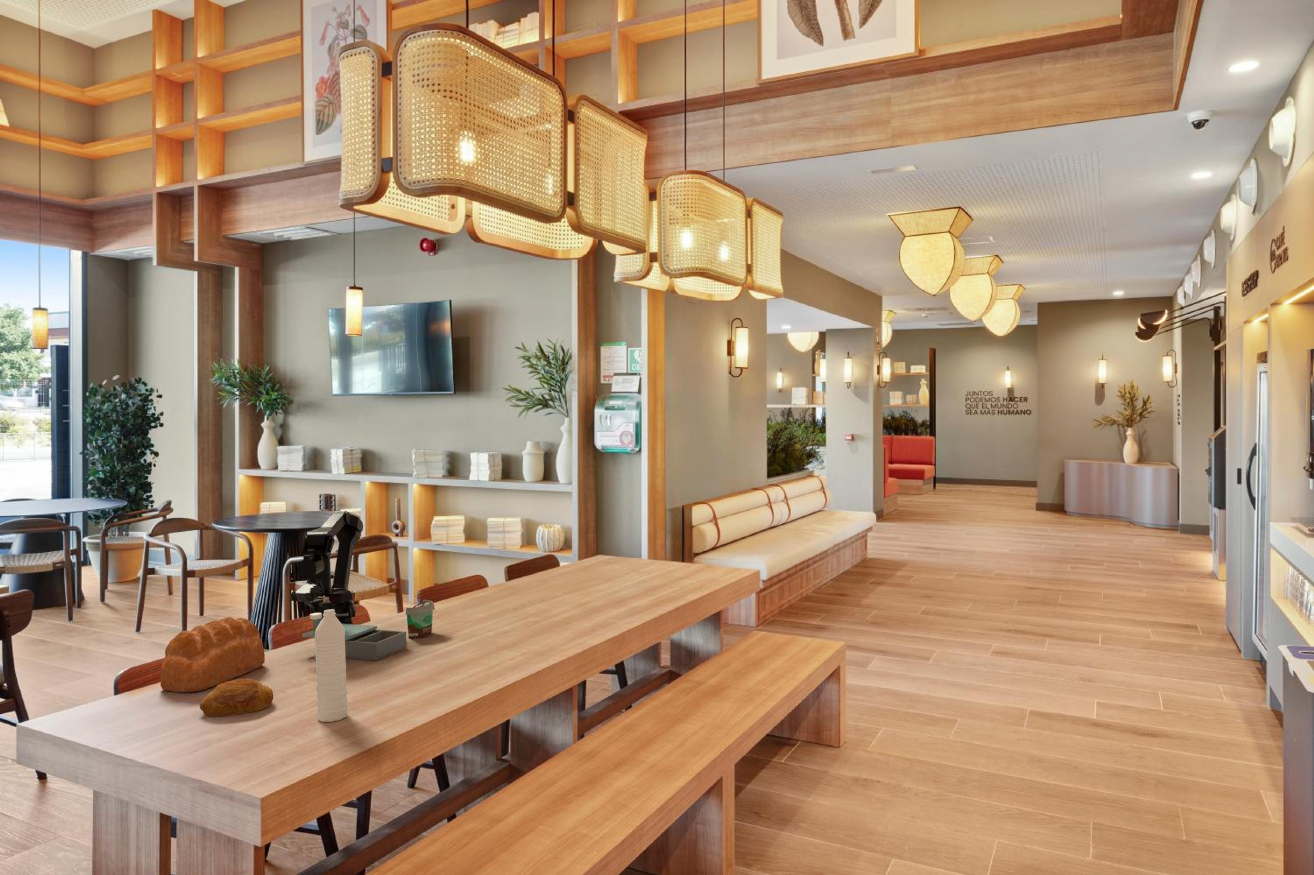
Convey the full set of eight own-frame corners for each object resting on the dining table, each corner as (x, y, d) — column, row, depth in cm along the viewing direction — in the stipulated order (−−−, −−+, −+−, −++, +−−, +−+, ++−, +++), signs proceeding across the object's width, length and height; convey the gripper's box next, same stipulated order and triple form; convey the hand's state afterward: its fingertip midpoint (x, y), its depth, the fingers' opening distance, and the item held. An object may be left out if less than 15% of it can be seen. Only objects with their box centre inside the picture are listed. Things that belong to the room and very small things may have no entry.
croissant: (267, 723, 198) (271, 689, 198) (194, 722, 194) (198, 687, 194) (277, 702, 212) (280, 670, 212) (208, 700, 207) (212, 668, 207)
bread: (153, 692, 217) (151, 632, 217) (230, 662, 242) (228, 609, 242) (198, 695, 213) (195, 634, 213) (271, 665, 239) (269, 611, 238)
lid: (301, 636, 249) (301, 620, 249) (334, 625, 262) (333, 610, 262) (346, 640, 244) (345, 623, 243) (377, 628, 257) (376, 612, 257)
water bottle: (331, 711, 198) (328, 605, 198) (353, 714, 196) (350, 607, 195) (303, 724, 190) (300, 614, 190) (326, 727, 188) (323, 615, 187)
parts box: (331, 657, 245) (330, 640, 245) (362, 644, 259) (362, 628, 259) (376, 661, 240) (376, 643, 240) (406, 648, 253) (406, 631, 253)
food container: (424, 640, 262) (423, 608, 262) (406, 639, 264) (405, 608, 263) (442, 630, 274) (441, 600, 274) (424, 630, 276) (423, 599, 275)
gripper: (275, 576, 250) (277, 628, 250) (327, 578, 244) (328, 632, 244) (303, 570, 261) (304, 620, 261) (352, 572, 254) (354, 623, 255)
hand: (322, 624), depth 255 cm, fingers closed on lid, 2 cm apart
